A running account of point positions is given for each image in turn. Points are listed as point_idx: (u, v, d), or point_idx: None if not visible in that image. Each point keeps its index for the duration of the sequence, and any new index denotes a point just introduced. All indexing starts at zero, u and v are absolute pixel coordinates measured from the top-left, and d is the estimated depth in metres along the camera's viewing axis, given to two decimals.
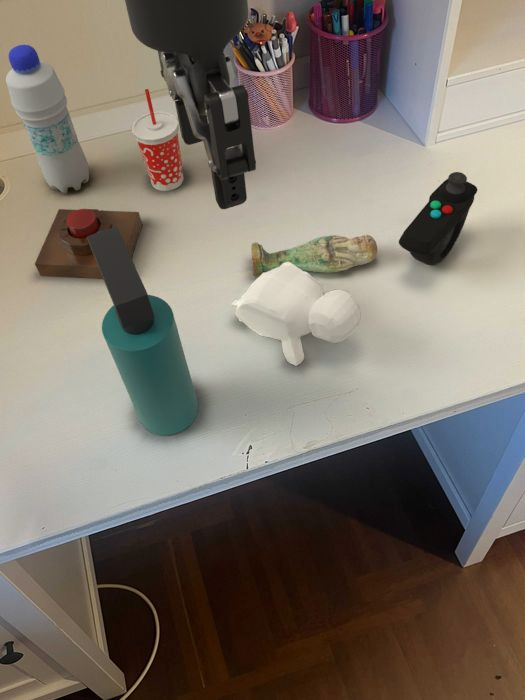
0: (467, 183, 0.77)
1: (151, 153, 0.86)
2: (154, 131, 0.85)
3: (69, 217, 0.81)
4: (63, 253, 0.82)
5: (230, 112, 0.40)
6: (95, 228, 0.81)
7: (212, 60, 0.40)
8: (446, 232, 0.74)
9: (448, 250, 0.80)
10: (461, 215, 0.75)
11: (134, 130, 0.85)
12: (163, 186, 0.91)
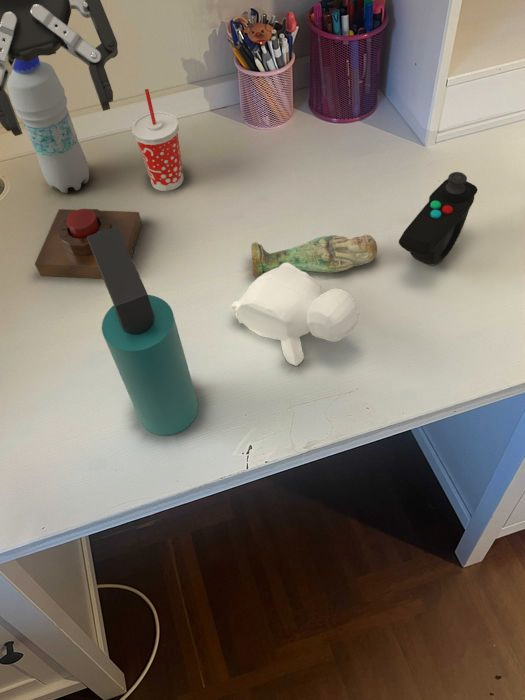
0: (467, 183, 0.77)
1: (151, 153, 0.86)
2: (154, 131, 0.85)
3: (69, 217, 0.81)
4: (63, 253, 0.82)
5: None
6: (95, 228, 0.81)
7: None
8: (446, 232, 0.74)
9: (448, 250, 0.80)
10: (461, 215, 0.75)
11: (134, 130, 0.85)
12: (163, 186, 0.91)
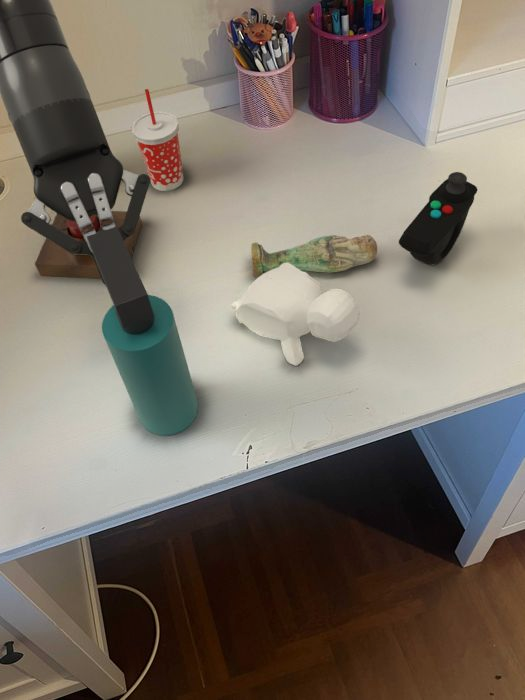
0: (467, 183, 0.77)
1: (151, 153, 0.86)
2: (154, 131, 0.85)
3: None
4: (63, 253, 0.82)
5: None
6: (95, 228, 0.81)
7: None
8: (446, 232, 0.74)
9: (448, 250, 0.80)
10: (461, 215, 0.75)
11: (134, 130, 0.85)
12: (163, 186, 0.91)
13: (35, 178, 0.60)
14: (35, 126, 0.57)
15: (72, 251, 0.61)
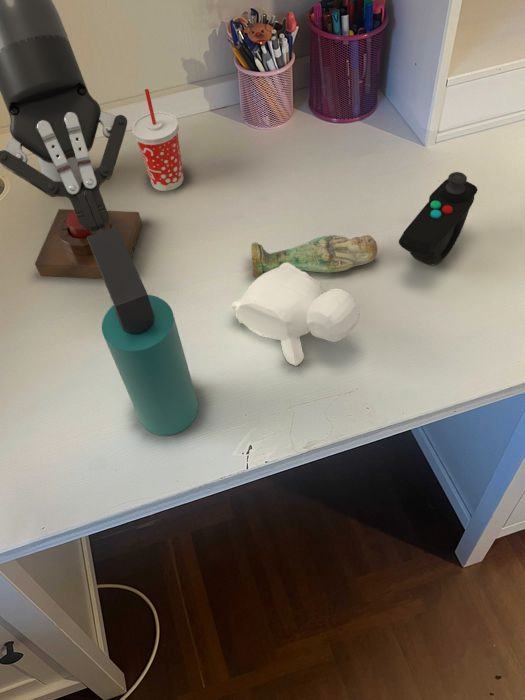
0: (467, 183, 0.77)
1: (151, 153, 0.86)
2: (154, 131, 0.85)
3: (69, 217, 0.81)
4: (63, 253, 0.82)
5: (125, 131, 0.63)
6: None
7: None
8: (446, 232, 0.74)
9: (448, 250, 0.80)
10: (461, 215, 0.75)
11: (134, 130, 0.85)
12: (163, 186, 0.91)
13: (11, 117, 0.60)
14: (10, 62, 0.57)
15: (48, 191, 0.61)
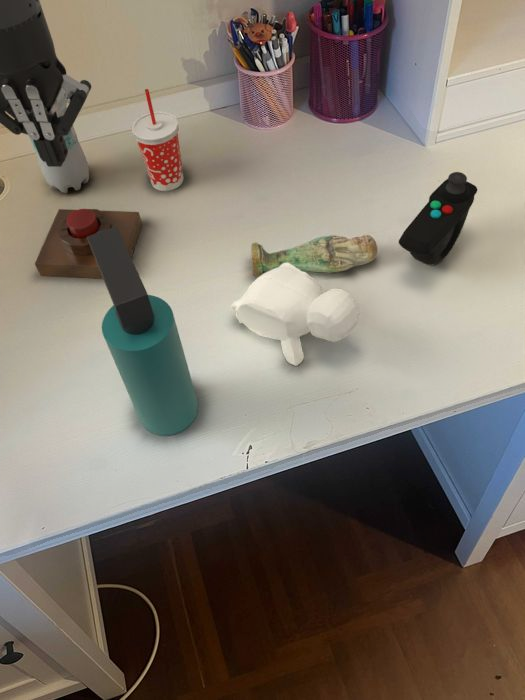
0: (467, 183, 0.77)
1: (151, 153, 0.86)
2: (154, 131, 0.85)
3: (69, 217, 0.81)
4: (63, 253, 0.82)
5: None
6: (95, 228, 0.81)
7: (55, 59, 0.64)
8: (446, 232, 0.74)
9: (448, 250, 0.80)
10: (461, 215, 0.75)
11: (134, 130, 0.85)
12: (163, 186, 0.91)
13: None
14: None
15: (13, 132, 0.70)
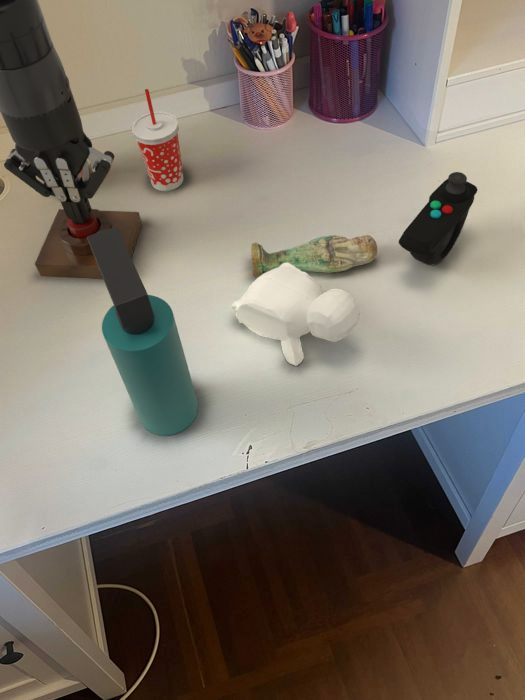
0: (467, 183, 0.77)
1: (151, 153, 0.86)
2: (154, 131, 0.85)
3: None
4: (63, 253, 0.82)
5: None
6: (95, 229, 0.82)
7: (82, 135, 0.71)
8: (446, 232, 0.74)
9: (448, 250, 0.80)
10: (461, 215, 0.75)
11: (134, 130, 0.85)
12: (163, 186, 0.91)
13: None
14: (10, 125, 0.67)
15: (43, 195, 0.77)
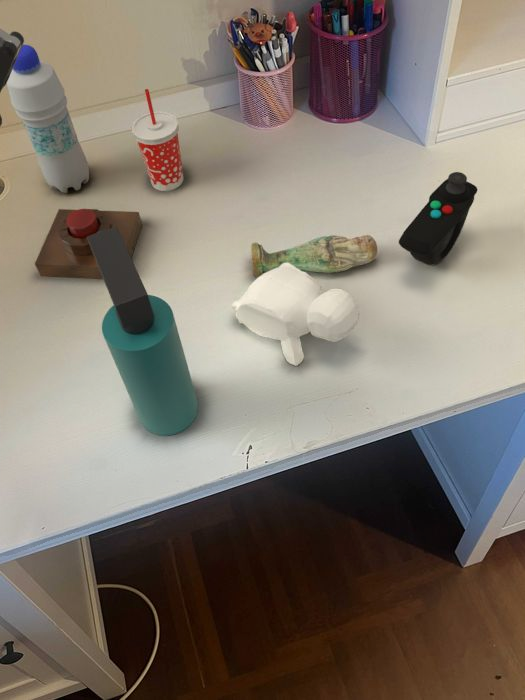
0: (467, 183, 0.77)
1: (151, 153, 0.86)
2: (154, 131, 0.85)
3: (69, 217, 0.81)
4: (63, 253, 0.82)
5: (17, 54, 0.57)
6: (95, 228, 0.81)
7: None
8: (446, 232, 0.74)
9: (448, 250, 0.80)
10: (461, 215, 0.75)
11: (134, 130, 0.85)
12: (163, 186, 0.91)
13: None
14: None
15: None
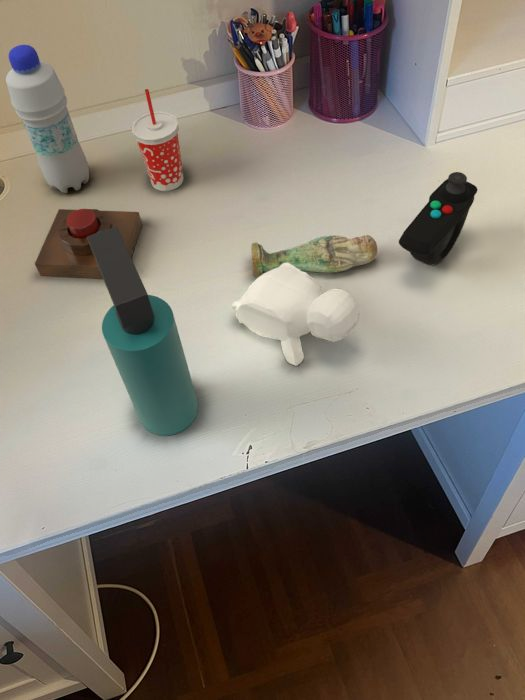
0: (467, 183, 0.77)
1: (151, 153, 0.86)
2: (154, 132, 0.85)
3: (69, 217, 0.81)
4: (63, 253, 0.82)
5: None
6: (95, 228, 0.81)
7: None
8: (446, 232, 0.74)
9: (448, 250, 0.80)
10: (461, 215, 0.75)
11: (134, 130, 0.85)
12: (163, 186, 0.91)
13: None
14: None
15: None
